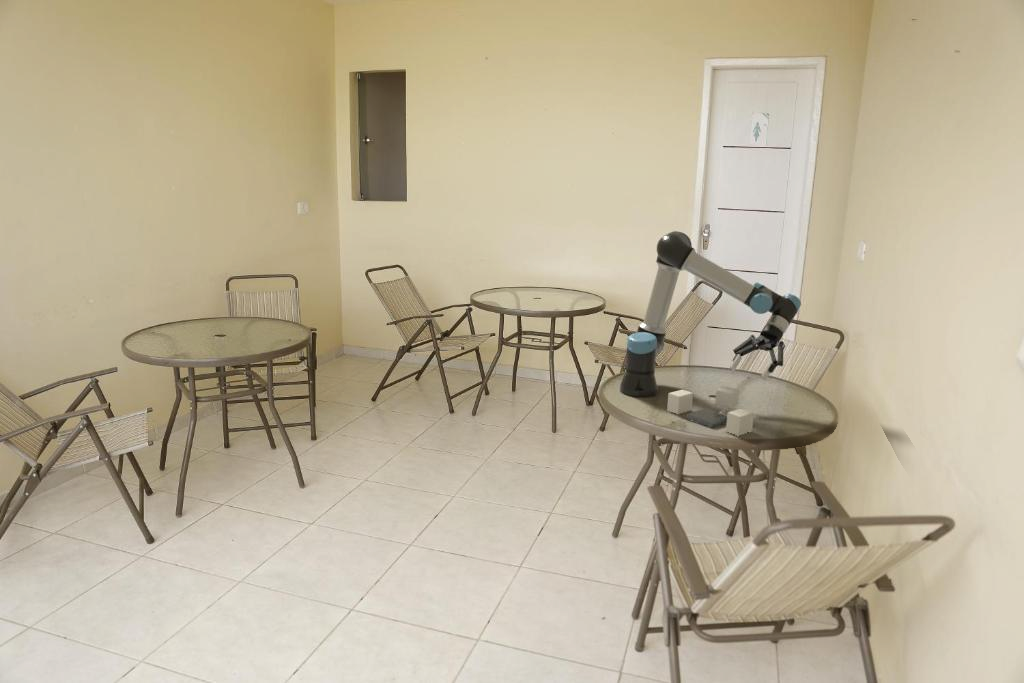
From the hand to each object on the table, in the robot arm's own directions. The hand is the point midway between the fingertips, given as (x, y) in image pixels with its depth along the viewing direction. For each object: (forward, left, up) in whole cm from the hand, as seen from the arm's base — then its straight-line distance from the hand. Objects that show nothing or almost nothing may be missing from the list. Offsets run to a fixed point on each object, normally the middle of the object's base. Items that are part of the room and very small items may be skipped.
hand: (747, 373), depth 257 cm
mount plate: (0, -21, -14) cm, 26 cm away
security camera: (0, -10, -14) cm, 18 cm away
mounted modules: (0, -21, -14) cm, 26 cm away
